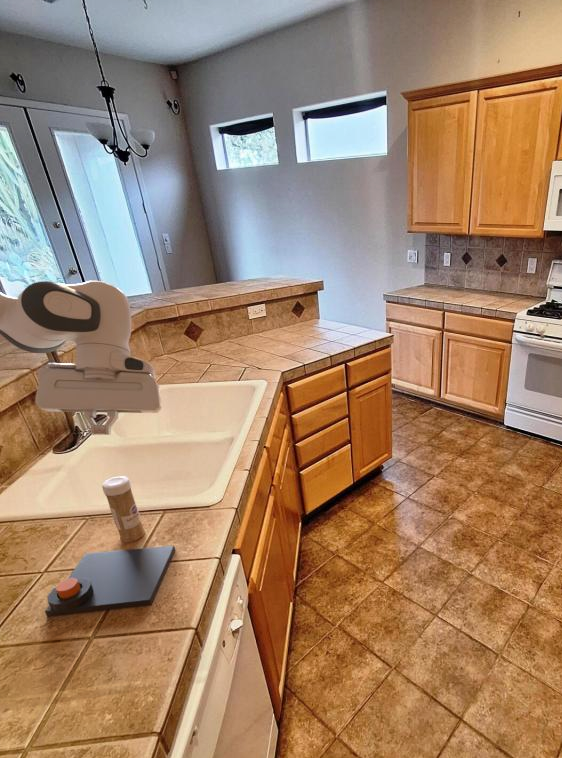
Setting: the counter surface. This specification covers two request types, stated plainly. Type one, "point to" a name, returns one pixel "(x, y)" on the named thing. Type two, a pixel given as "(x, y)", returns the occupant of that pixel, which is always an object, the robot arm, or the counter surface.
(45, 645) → the counter surface
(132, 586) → the scale
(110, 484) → the sprinkles bottle
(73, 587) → the button
